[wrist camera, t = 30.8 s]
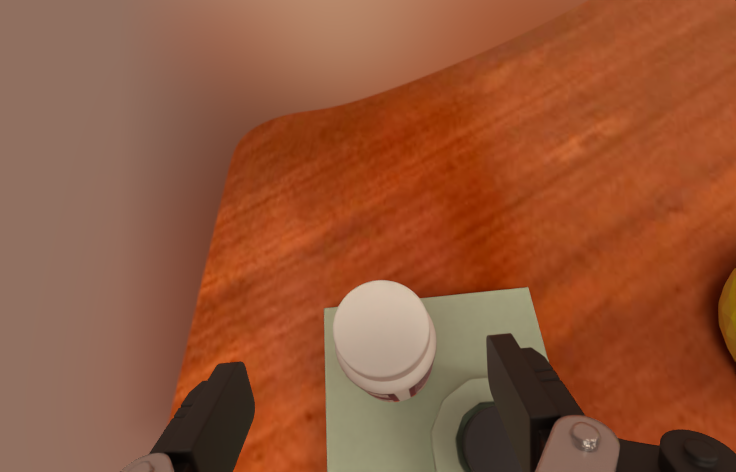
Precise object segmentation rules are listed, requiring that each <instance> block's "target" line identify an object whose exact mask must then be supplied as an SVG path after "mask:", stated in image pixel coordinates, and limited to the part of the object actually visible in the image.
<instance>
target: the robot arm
mask: <svg viewBox="0 0 736 472" xmlns="http://www.w3.org/2000/svg"><path fill="white" fill-rule="evenodd" d="M486 348H487V371H488V382H489V387H490V391H491V395H492V397H493V400H494V402H495V405H496V407H497V410H498V412H499V415H500V417H501V419H502V422H503V424H504V427H505V429H506V432H507V434H508V437H509V439H510V442H511V444H512V446H513V449H514V451H515V454H516V456H517V459H518V461H519V464H520V466H521V468H522V471H523V472H736V454H735V453H734V452H733V451H732V450H731V449H730V448H728V447H727V446H726V445H724V444H723V443H721V442H719V441H718V440H716V439H714V438H712V437H710V436H707V435H705V434H702V433H699V432H695V431H690V430H672V431H669V432H667V433H665V434H664V435H663V436H662V438H661V440H660V446H657V445H651V444H645V443H639V442H633V441H627V440H623V439H619V438H617V436H616V435H615V433H614V432H613V431H612V430H611V429H610V428H609V427H607V426H606V425H605V424H603V423H601V422H599V421H598V420H595V419H593V418H590V417H586V416H585V415H584V413H583V412H582V410H581V409H580V407H579V406H578V404H577V403H576V401H575V400H574V399H573V397H572V396H571V394H570V393H569V391H568V390H567V388H566V387H565V385H564V384H563V382H562V381H561V380H560V379H559V377H558V375H557V374H556V372H555V371H553V368H552V366H551V365H550V364H549V362H548V361H547V359H546V358H545V356H543V355H542V354H540V353H539V352H537V351H536V350H534V349H533V348H531V347H528V348H520V346H519V345H518V343H517V341H516V340H515V338H514V337H513V335H512V334H511V333H505V334H496V335H487V337H486ZM254 412H255V402H254V397H253V393H252V390H251V386H250V382H249V378H248V375H247V371H246V367H245V365H244V363H243V362H231V363H222V364H218V365H217V366H216V368H215V369H214V371H213V372H212V374H211V376H210V377H209V379H208V381H202V382H201V383H200V384H199V385H197V386H196V387H195V388H194V389H193V390H192V391H191V392H189V394H188V395H187V397H186V398H185V400H184V401H183V403H182V404H181V408H179V409H178V411H177V412H176V414H175V415H174V418H173V419H172V420H171V421H170V423H169V424H168V426H167V427H166V429H165V430H164V432H163V434H162V435H161V437H160V438H159V440H158V441H157V443H156V444H155V446H154V447H153V449H152V450H151V452H150V453H149V454H148V455H145V456H143V457H141V458H138V459H136V460H135V461H133V462H132V463H130V464H129V465H127V466H126V467H125V468H124V469H123V470H122V471H121V472H233V470H234V467H235V465H236V462H237V459H238V457H239V454H240V452H241V449H242V447H243V444H244V442H245V439H246V436H247V434H248V431H249V429H250V426H251V424H252V421H253V418H254Z"/></svg>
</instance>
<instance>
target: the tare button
mask: <svg viewBox="0 0 736 472" xmlns="http://www.w3.org/2000/svg"><path fill="white" fill-rule="evenodd" d="M462 451H463V455H464V458H465V461H466V463H467V465H468V467H469V468H470V470H471V471H472V472H523V471H522V468H521V466H520V464H519V461H518V459H517V456H516V454H515V451H514V449H513V446H512V444H511V442H510V439H509V437H508V434H507V432H506V429H505V427H504V424H503V422H502V419H501V417H500V415H499V412H498V410H497V407H496V406H491V407H488V408H485V409H482V410H480V411H478V412H477V413H475V414H474V415H473V416H472V417H471V418H470V419H469V420H468V422H467V423H466V425H465V428H464V430H463V434H462Z"/></svg>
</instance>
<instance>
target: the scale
mask: <svg viewBox="0 0 736 472" xmlns="http://www.w3.org/2000/svg"><path fill="white" fill-rule="evenodd" d="M419 299H420V300H421V301H422V303H423V304H424V306H425V308H426V311H427V312H428V314H429V315H430V318H431V320H432V322H433V325H434V328H435V331H436V339H437V344H436V347H437V348H436V354H435V358H434V362H433V367H432V371H431V374H430V377H429V379H428V381H427V383H426V385H425V386H424V387H423V389H422V390H421V391H420V392H419V393H417V394H416V395H415V396H413V397H412V398H410V399H407V400H405V401H401V402H385V401H381V400H378V399H376V398H374V397H372V396H371V395H369V394H368V393H367V392H365V391H364V390H363V389H361V388H360V387H359V386H357V385H356V384H354V383H353V382H352V381H351V380H350V379H349V378H348V377H347V376H346V374H345V373H344V371H343V370H342V368H341V366H340V364H339V362H338V359H337V355H336V351H335V342H334V338H333V322H334V317H335V313H336V311H337V308H338V307H332V308H324V340H325V389H326V438H327V472H472V471H471V470H470V468H469V467H468V465H467V463H466V461H465V458H464V455H463V451H462V434H463V430H464V428H465V425H466V423H467V422H468V420H469V419H470V418H471V417H472V416H473V415H474V414H475V413H477V412H478V411H480V410H482V409H485V408H488V407H491V406H496V405H495V402H494V400H493V397H492V395H491V391H490V387H489V382H488V371H487V348H486V337H487V335H496V334H505V333H511V334H512V335H513V337H514V338H515V340H516V341H517V343H518V345H519V346H520V348H528V347H531V348H533V349H534V350H536V351H537V352H539V353H540V354H542V355H543V356H545V358H546V359H547V361H548V358H547V354H546V350H545V347H544V343H543V339H542V336H541V332H540V329H539V325H538V321H537V318H536V314H535V310H534V307H533V303H532V299H531V296H530V292H529V288H528V287H526V288H516V289H506V290H496V291H487V292H477V293H467V294H458V295H448V296H438V297H429V298H419ZM548 362H549V361H548Z"/></svg>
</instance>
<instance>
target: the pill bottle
mask: <svg viewBox="0 0 736 472" xmlns="http://www.w3.org/2000/svg"><path fill="white" fill-rule="evenodd" d="M333 338H334V342H335V351H336V355H337V359H338V362H339V364H340V366H341V368H342V370H343V371H344V373H345V374H346V376H347V377H348V378H349V379H350V380H351V381H352V382H353V383H354V384H356V385H357V386H359V387H360V388H361V389H363V390H364V391H365V392H367V393H368V394H369V395H371V396H372V397H374V398H376V399H378V400H381V401H385V402H401V401H405V400H407V399H410V398H412V397H413V396H415V395H416V394H417V393H419V392H420V391H421V390H422V389H423V387H424V386H425V385H426V383H427V381H428V379H429V377H430V374H431V371H432V367H433V362H434V358H435V354H436V348H437V347H436V344H437V339H436V331H435V328H434V325H433V322H432V320H431V318H430V315H429V314H428V312H427V311H426V308H425V306H424V304H423V303H422V301H421V300H420V299H419V297H418V296H417V295H416V294H415V293H414V292H413V291H412V290H410V289H409V288H407V287H406V286H404V285H402V284H399V283H397V282H393V281H388V280H377V281H371V282H367V283H364V284H362V285H360V286H358V287H356V288H355V289H353V290H352V291H351V292H349V293H348V294H347V295H346V296H345V298H344V299H343V300H342V301H341V303H340V305H339V306H338V308H337V311H336V313H335V317H334V322H333Z"/></svg>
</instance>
